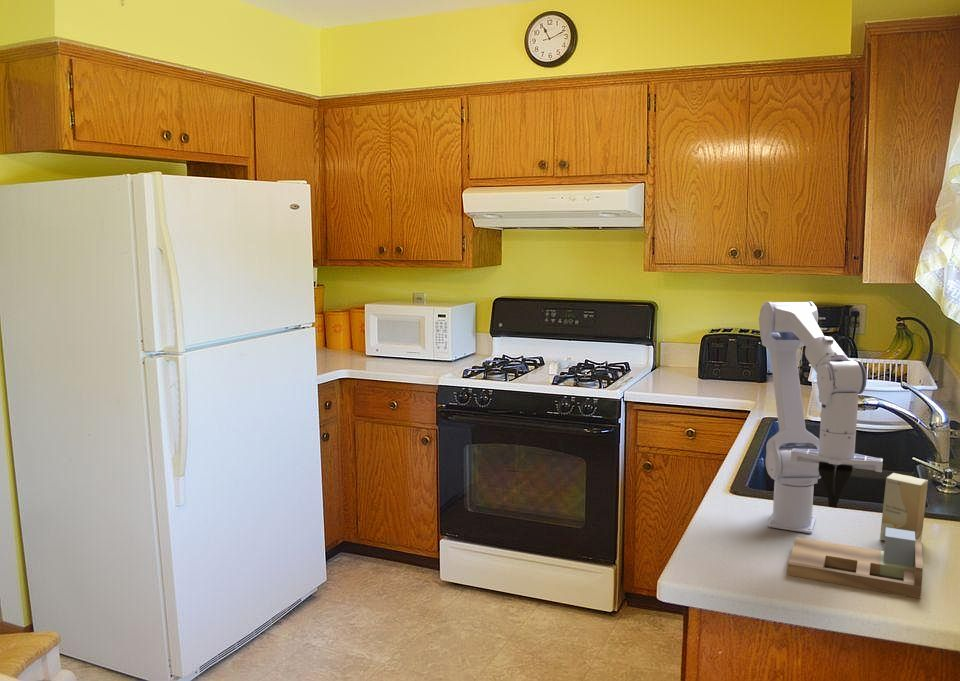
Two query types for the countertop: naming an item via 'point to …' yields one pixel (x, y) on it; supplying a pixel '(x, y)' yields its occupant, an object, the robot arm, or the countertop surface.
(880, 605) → the countertop surface
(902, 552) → the block
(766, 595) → the countertop surface
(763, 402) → the countertop surface
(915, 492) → the skincare box
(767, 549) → the countertop surface
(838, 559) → the board
